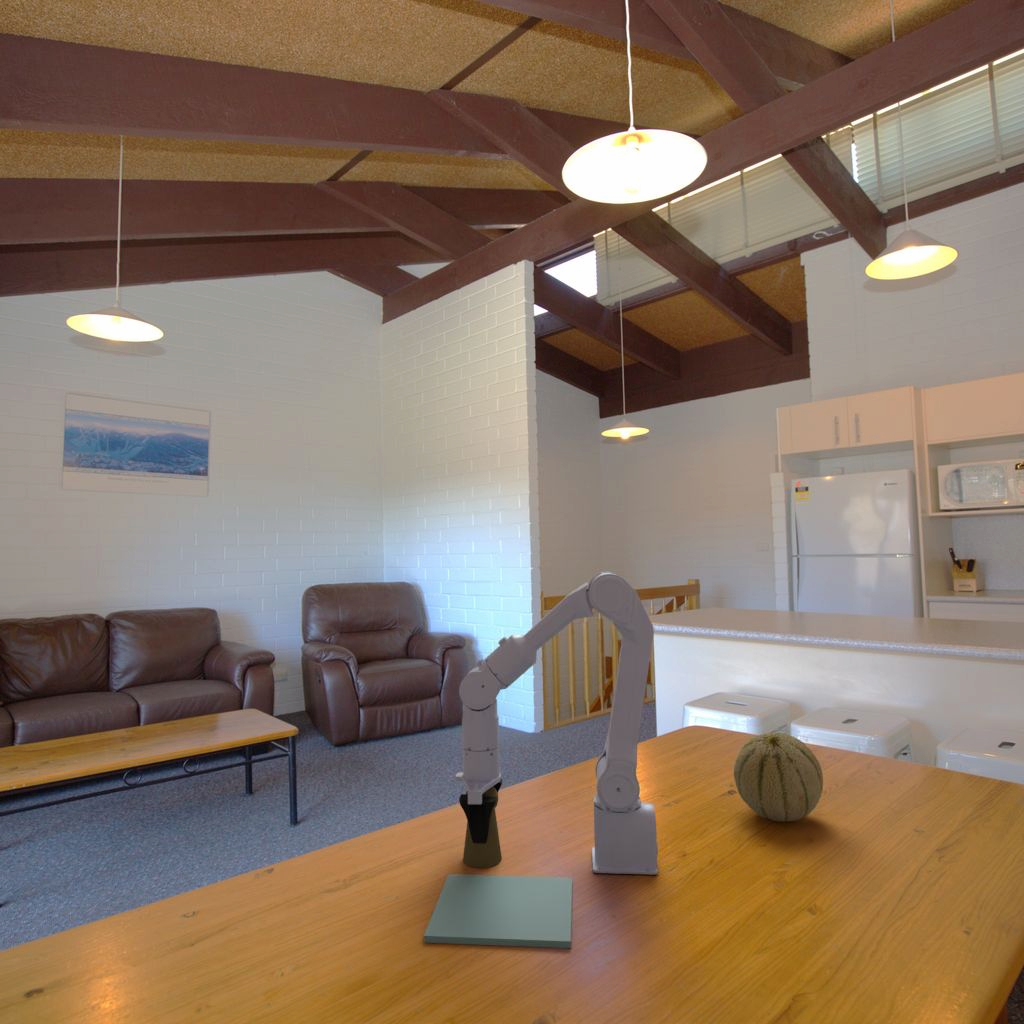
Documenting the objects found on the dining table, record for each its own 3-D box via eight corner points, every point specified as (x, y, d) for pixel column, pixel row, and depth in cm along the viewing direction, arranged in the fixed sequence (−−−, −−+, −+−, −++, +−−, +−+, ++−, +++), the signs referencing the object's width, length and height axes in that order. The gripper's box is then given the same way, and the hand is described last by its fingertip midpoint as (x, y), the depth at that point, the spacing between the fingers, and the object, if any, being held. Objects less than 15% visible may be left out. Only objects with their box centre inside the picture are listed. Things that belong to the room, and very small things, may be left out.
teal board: (572, 883, 99) (572, 877, 99) (570, 948, 83) (570, 941, 83) (448, 879, 101) (448, 874, 101) (423, 942, 85) (423, 935, 85)
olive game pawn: (496, 869, 104) (496, 794, 104) (458, 866, 105) (457, 792, 105) (505, 851, 110) (504, 781, 110) (468, 848, 111) (468, 779, 111)
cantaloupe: (808, 803, 128) (805, 721, 129) (838, 836, 113) (834, 744, 114) (727, 801, 129) (724, 720, 130) (745, 834, 115) (742, 742, 115)
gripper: (463, 733, 116) (464, 816, 115) (446, 760, 101) (448, 854, 101) (505, 733, 115) (506, 817, 114) (494, 760, 101) (496, 856, 100)
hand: (482, 834), depth 107 cm, fingers closed on olive game pawn, 5 cm apart
